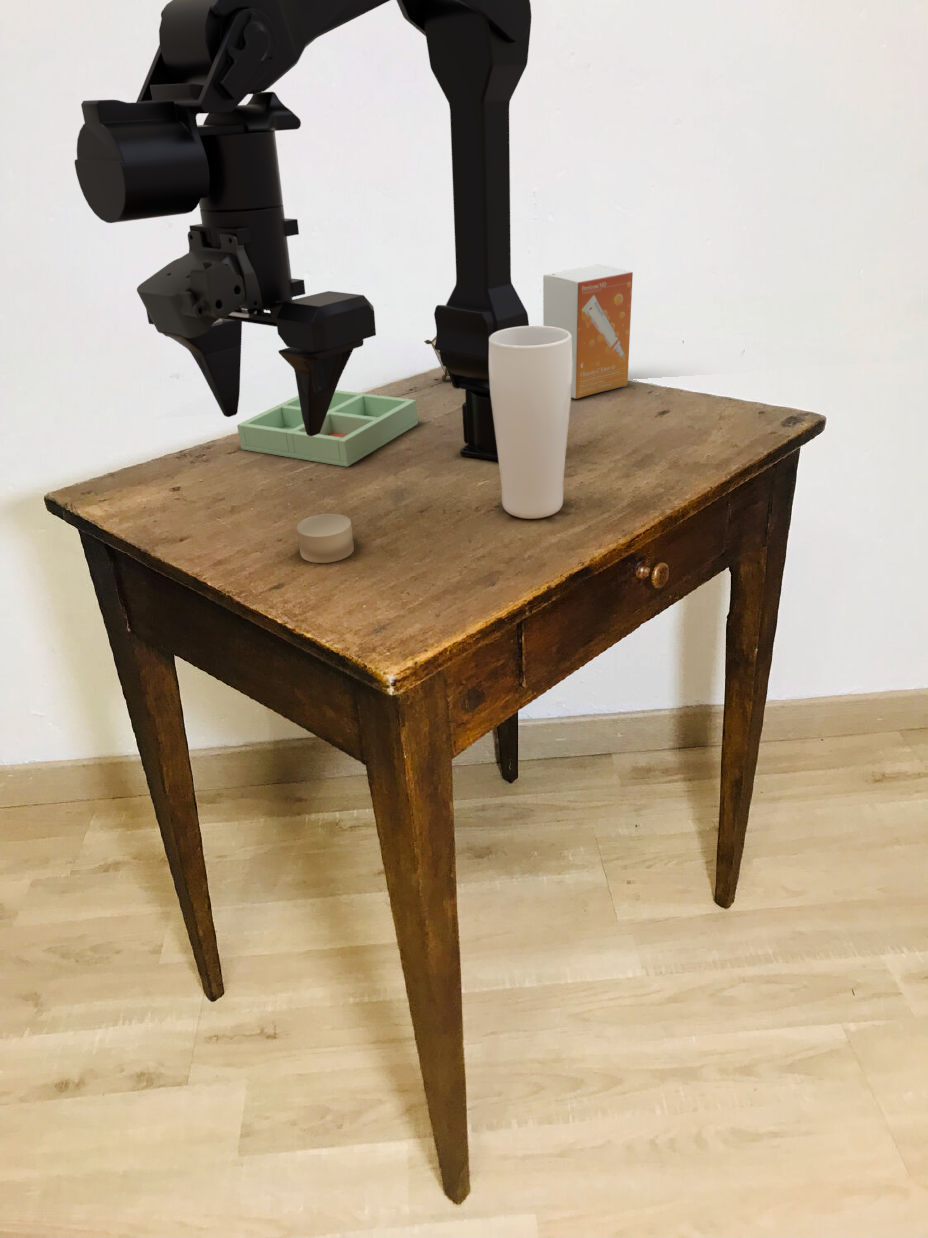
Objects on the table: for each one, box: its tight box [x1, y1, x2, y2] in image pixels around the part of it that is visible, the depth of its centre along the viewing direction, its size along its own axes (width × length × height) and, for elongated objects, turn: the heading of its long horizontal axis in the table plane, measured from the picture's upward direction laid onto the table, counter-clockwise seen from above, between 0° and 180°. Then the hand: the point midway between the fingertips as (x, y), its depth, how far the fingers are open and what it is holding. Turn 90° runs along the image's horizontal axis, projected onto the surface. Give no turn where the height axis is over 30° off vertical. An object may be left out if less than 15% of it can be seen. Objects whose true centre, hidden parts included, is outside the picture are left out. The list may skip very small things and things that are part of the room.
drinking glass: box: [488, 325, 573, 520], centre depth 79 cm, size 7×7×15 cm
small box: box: [542, 264, 634, 400], centre depth 109 cm, size 8×6×13 cm
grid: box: [236, 389, 419, 468], centre depth 101 cm, size 14×14×3 cm
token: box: [296, 513, 355, 564], centre depth 77 cm, size 4×4×2 cm
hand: (270, 424), depth 74 cm, fingers open, 9 cm apart
